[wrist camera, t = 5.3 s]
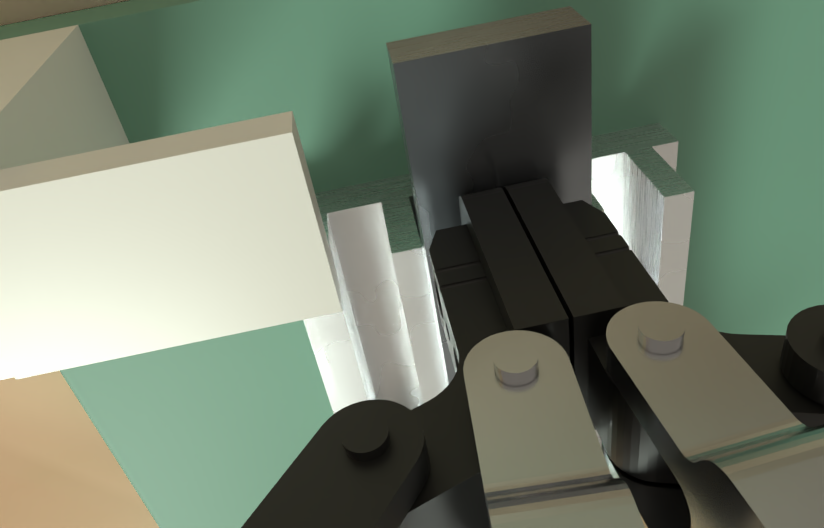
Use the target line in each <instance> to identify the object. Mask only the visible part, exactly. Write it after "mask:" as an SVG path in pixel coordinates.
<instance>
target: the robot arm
mask: <svg viewBox="0 0 824 528" xmlns="http://www.w3.org/2000/svg"><path fill="white" fill-rule="evenodd" d="M459 208H460V216H461V224H462V225H459V226H455V227H450V228H445V229H440V230H436V232H435V235H434V237H433V240H432V243H431V246H430V248H429V254H430V259H431V265H432V271H433V277H434V283H435V289H436V295H437V301H438V306H439V312H440V318H441V322H442V325H443V329H444V333H445V336H446V339H447V344H448V347H449V351H450V355H451V358H452V362H453V366H454V369H455V376H454V378H453V379H452V381H451V382H450V383H449V385H448V386H447V387H446V388H445V389H444V390H443V391H442V392H441V393H439V394H438V395H437V396H436V397H434V398H432V399H431V400H429V401H427V402H425V403H423V404H421V405H420V406H418V407H416V408H414V409H412V410H410V409H408V408H407V407H405V406H404V405H402V404H399V403H397V402H393V401H389V400H381V399H375V400H366V401H360V402H357V403H354V404H351V405H349V406H347V407H344V408H343V409H341V410H339V411H338V412H336V413H335V414H333V415H332V416H331V417H330V418H329V419H328V420H327V421H326V422H325V423H324V424H323V425H322V426H321V427H320V429H319V430H318V431H317V432H316V434H315V435H314V436H313V437H312V439H311V440H310V441H309V443H308V444H307V445H306V446H305V448H304V449H303V450H302V451H301V453H300V454H299V455H298V456H297V458H296V459H295V460H294V461H293V463H292V464H291V465H290V466H289V468H288V469H287V470H286V472H285V473H284V474H283V475H282V477H281V478H280V479H279V480H278V482H277V483H276V484H275V485H274V487H273V488H272V489H271V490H270V492H269V493H268V494H267V495H266V497H265V498H264V499H263V501H262V502H261V503H260V504H259V506H258V507H257V508H256V509H255V511H254V512H253V513H252V514H251V516H250V517H249V518H248V519H247V521H246V522H245V523H244V524H243V526H242V527H241V528H824V305H817V306H813V307H809V308H807V309H804V310H802V311H800V312H799V313H797V314H796V315H795V316H794V317H793V318H792V319H791V320H790V322H789V324H788V326H787V330H786V335H753V334H731V333H724V332H718V331H717V330H716V328H715V327H714V326H713V325H712V324H711V323H710V322H709V321H708V320H707V319H706V318H705V317H704V316H702V315H701V314H699V313H698V312H696V311H694V310H692V309H690V308H688V307H685V306H682V305H679V304H675V303H670V302H668V300H667V299H666V297H665V296H664V295H663V293H662V292H661V290H660V289H659V288H658V286H657V285H656V283H655V282H654V281H653V279H652V278H651V276H650V275H649V274H648V272H647V271H646V269H645V268H644V267H643V265H642V264H641V262H640V261H639V260H638V258H637V257H636V255H635V254H634V253H633V251H632V250H629V246H628V244H627V243H626V241H625V240H624V239H623V237H622V236H621V235H619V234H618V230H617V229H616V227H615V226H614V225H613V223H612V222H611V220H610V219H609V218H608V216H607V215H606V213H604V212H602V211H601V210H599V209H597V208H595V207H594V206H592V205H590V204H588V203H587V202H585V201H583V200H579V201H574V202H569V203H564V204H563V203H562V201H561V200H560V198H559V196H558V195H557V193H556V192H555V190H554V188H553V187H552V185H551V184H550V182H549V181H548V179H546V178H543V179H538V180H533V181H528V182H524V183H519V184H514V185H509V186H504V187H503V189H502V188H501V187H500V188H495V189H491V190H486V191H481V192H476V193H471V194H466V195H462V196H459ZM595 430H597V432H598V434H599V437H600V439H601V441H602V443H603V445H604V454H603V451H602V449H601V446H600V443H599V440H598V437H597V435H596V432H595Z"/></svg>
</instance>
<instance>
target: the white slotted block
mask: <svg viewBox="0 0 824 528" xmlns="http://www.w3.org/2000/svg"><path fill="white" fill-rule="evenodd" d="M677 153H678V140H677V139H676V138H674V137H673V136H672V135H671V134H670V133H669V132H668V131H667V130H666V129H665V128H664V127H663V126H662V125H661V124H660V123H655V124H651V125H646V126H641V127H636V128H631V129H626V130H621V131H616V132H611V133H606V134H602V135H597V136H592V206H594V207H595V208H597V209H599V210H601V211H602V212H604V213H606V215H607V216H608V218H609V219H610V220H611V222H612V223H613V225H614V226H615V227H616V229H617V230H618V234H619V235H621V236H622V237H623V239H624V240H625V241H626V243H627V244H628V246H629V250H632V251H633V253H634V254H635V255H636V257H637V258H638V260H639V261H640V262H641V264H642V265H643V267H644V268H645V269H646V271H647V272H648V274H649V275H650V276H651V278H652V279H653V281H654V282H655V283H656V285H657V286H658V288H659V289H660V290H661V292H662V293H663V295H664V296H665V297H666V299H667V300H668V302H670V303H675V304H679V305H682V306H683V302H684V292H685V282H686V272H687V262H688V252H689V242H690V232H691V222H692V212H693V202H694V192H695V191H694V190H693V189H692V188H691V187H690V186H689V185H688V184H687V183H686V182H685V181H684V180H683V179H682V178H681V177H680V176H679V175H678V174H677V173H676V166H677ZM315 195H316V199H317V203H318V206H319V210H320V214H321V217H322V221H323V225H324V228H325V232H326V236H327V239H328V243H329V246H330V250H331V254H332V257H333V261H334V265H335V268H336V272H337V276H338V279H339V283H340V292H341V303H342V312H338V313H334V314H329V315H324V316H319V317H314V318H310V319H305V320H303V321H304V324H305V327H306V330H307V333H308V337H309V340H310V343H311V346H312V349H313V352H314V355H315V358H316V361H317V364H318V367H319V370H320V373H321V376H322V379H323V383H324V386H325V389H326V392H327V395H328V398H329V401H330V404H331V407H332V410H333V413H334V414H335V413H336V412H338V411H339V410H341V409H343V408H344V407H347V406H349V405H351V404H354V403H357V402H360V401H366V400H375V399H381V400H389V401H393V402H397V403H399V404H402V405H404V406H405V407H407V408H408V409H410V410H412V409H414V408H416V407H418V406H420V405H421V404H423V403H425V402H427V401H429V400H431V399H432V398H434V397H436V396H437V395H438V394H439V393H441V392H442V391H443V390H444V389H445V388H446V387H447V384H446V379H445V373H444V367H443V362H442V356H441V350H440V345H439V339H438V334H437V328H436V322H435V317H434V311H433V305H432V300H431V294H430V289H429V283H428V277H427V272H426V266H425V260H424V255H423V249H422V244H421V238H420V232H419V227H418V221H417V215H416V210H415V204H414V199H413V193H412V187H411V182H410V176H409V174H406V175H401V176H396V177H391V178H386V179H381V180H376V181H371V182H367V183H362V184H357V185H352V186H347V187H342V188H337V189H332V190H327V191H322V192H318V193H315ZM595 432H596V435H597V437H598V440H599V443H600V446H601V449H602V441H601V439H600V437H599V434H598V432H597V430H595Z"/></svg>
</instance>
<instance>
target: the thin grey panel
mask: <svg viewBox="0 0 824 528" xmlns="http://www.w3.org/2000/svg"><path fill="white" fill-rule="evenodd" d="M386 47H387V52H388V58H389V63H390V69H391V75H392V80H393V86H394V92H395V97H396V103H397V108H398V114H399V120H400V125H401V131H402V137H403V142H404V148H405V154H406V159H407V165H408V170H409V176H410V182H411V187H412V193H413V199H414V204H415V210H416V215H417V221H418V227H419V232H420V238H421V244H422V249H423V255H424V260H425V266H426V272H427V277H428V283H429V289H430V294H431V300H432V305H433V311H434V317H435V322H436V328H437V334H438V339H439V345H440V350H441V356H442V362H443V367H444V373H445V379H446V384H447V386H448V385H449V383H450V382H451V381H452V379H453V378H454V376H455V369H454V366H453V362H452V358H451V355H450V351H449V347H448V344H447V339H446V336H445V333H444V329H443V325H442V322H441V318H440V312H439V306H438V301H437V295H436V289H435V283H434V277H433V271H432V265H431V259H430V254H429V248H430V246H431V243H432V240H433V237H434V235H435V232H436V230H440V229H445V228H450V227H455V226H459V225H462V224H461V216H460V208H459V196H462V195H466V194H471V193H476V192H481V191H486V190H491V189H495V188H500V187H501V188H502V189H503V187H504V186H509V185H514V184H519V183H524V182H528V181H533V180H538V179H543V178H546V179H548V181H549V182H550V184H551V185H552V187H553V188H554V190H555V192H556V193H557V195H558V196H559V198H560V200H561V201H562V203H563V204H564V203H569V202H574V201H579V200H583V201H585V202H587V203H588V204H590V205H592V63H591V23H590V22H589V21H587V20H586V19H585V18H584V17H582V16H581V15H580V14H579V13H578V12H576V11H575V10H574V9H573V8H572V7H570V6H567V7H562V8H557V9H552V10H547V11H542V12H537V13H532V14H527V15H522V16H517V17H512V18H507V19H502V20H497V21H492V22H487V23H482V24H477V25H472V26H467V27H462V28H457V29H452V30H447V31H442V32H437V33H432V34H427V35H422V36H417V37H412V38H407V39H402V40H397V41H392V42H387V43H386Z"/></svg>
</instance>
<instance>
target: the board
mask: <svg viewBox="0 0 824 528" xmlns="http://www.w3.org/2000/svg"><path fill="white" fill-rule="evenodd" d="M567 6H570V7H572V8H573V9H574V10H575V11H576V12H578V13H579V14H580V15H581V16H582V17H584V18H585V19H586V20H587V21H589V22H590V23H591V63H592V136H597V135H602V134H606V133H611V132H616V131H621V130H626V129H631V128H636V127H641V126H646V125H651V124H655V123H660V124H661V125H662V126H663V127H664V128H665V129H666V130H667V131H668V132H669V133H670V134H671V135H672V136H673V137H674V138H676V139H677V140H678V153H677V166H676V173H677V174H678V175H679V176H680V177H681V178H682V179H683V180H684V181H685V182H686V183H687V184H688V185H689V186H690V187H691V188H692V189H693V190H694V191H695V192H694V202H693V212H692V222H691V232H690V242H689V252H688V262H687V272H686V282H685V292H684V302H683V306H685V307H688V308H690V309H692V310H694V311H696V312H698V313H699V314H701V315H702V316H704V317H705V318H706V319H707V320H708V321H709V322H710V323H711V324H712V325H713V326H714V327H715V328H716V330H717V331H718V332H724V333H731V334H753V335H786V330H787V326H788V324H789V322H790V320H791V319H792V318H793V317H794V316H795V315H796V314H797V313H799V312H800V311H802V310H804V309H807V308H809V307H813V306H817V305H824V0H130V1H125V2H119V3H114V4H109V5H104V6H99V7H94V8H89V9H84V10H79V11H74V12H69V13H64V14H59V15H54V16H48V17H43V18H38V19H33V20H28V21H23V22H18V23H13V24H8V25H3V26H0V40H4V39H9V38H14V37H19V36H24V35H29V34H34V33H39V32H44V31H49V30H54V29H59V28H64V27H69V26H74V25H78V26H79V28H80V31H81V33H82V35H83V37H84V40H85V42H86V44H87V47H88V49H89V51H90V54H91V56H92V58H93V60H94V63H95V65H96V67H97V70H98V72H99V74H100V77H101V79H102V81H103V83H104V86H105V88H106V90H107V93H108V95H109V97H110V100H111V102H112V104H113V106H114V109H115V111H116V113H117V116H118V118H119V120H120V123H121V125H122V127H123V129H124V132H125V134H126V136H127V139H128V141H129V143H135V142H140V141H145V140H150V139H155V138H160V137H165V136H170V135H175V134H180V133H185V132H190V131H195V130H200V129H205V128H210V127H215V126H219V125H224V124H229V123H234V122H239V121H244V120H249V119H254V118H259V117H264V116H269V115H274V114H279V113H284V112H289V111H293V115H294V119H295V122H296V126H297V130H298V133H299V137H300V141H301V144H302V148H303V151H304V155H305V159H306V162H307V166H308V170H309V173H310V177H311V181H312V184H313V188H314V192H315V193H318V192H322V191H327V190H332V189H337V188H342V187H347V186H352V185H357V184H362V183H367V182H371V181H376V180H381V179H386V178H391V177H396V176H401V175H406V174H409V170H408V165H407V159H406V154H405V148H404V142H403V137H402V131H401V125H400V120H399V114H398V108H397V103H396V97H395V92H394V86H393V80H392V75H391V69H390V63H389V58H388V52H387V47H386V43H387V42H392V41H397V40H402V39H407V38H412V37H417V36H422V35H427V34H432V33H437V32H442V31H447V30H452V29H457V28H462V27H467V26H472V25H477V24H482V23H487V22H492V21H497V20H502V19H507V18H512V17H517V16H522V15H527V14H532V13H537V12H542V11H547V10H552V9H557V8H562V7H567ZM60 372H61V374H62V375H63V377H64V378H65V380H66V381H67V383H68V385H69V386H70V388H71V389H72V391H73V392H74V394H75V396H76V397H77V399H78V400H79V402H80V403H81V405H82V407H83V408H84V410H85V411H86V413H87V414H88V416H89V418H90V419H91V421H92V422H93V424H94V425H95V427H96V429H97V430H98V432H99V433H100V435H101V436H102V438H103V440H104V441H105V443H106V444H107V446H108V447H109V449H110V451H111V452H112V454H113V455H114V457H115V458H116V460H117V462H118V463H119V465H120V466H121V468H122V469H123V471H124V473H125V474H126V476H127V477H128V479H129V480H130V482H131V484H132V485H133V487H134V488H135V490H136V491H137V493H138V495H139V496H140V498H141V499H142V501H143V502H144V504H145V506H146V507H147V509H148V510H149V512H150V513H151V515H152V517H153V518H154V520H155V521H156V523H157V524H158V526H159V528H241V527H242V526H243V524H244V523H245V522H246V521H247V519H248V518H249V517H250V516H251V514H252V513H253V512H254V511H255V509H256V508H257V507H258V506H259V504H260V503H261V502H262V501H263V499H264V498H265V497H266V495H267V494H268V493H269V492H270V490H271V489H272V488H273V487H274V485H275V484H276V483H277V482H278V480H279V479H280V478H281V477H282V475H283V474H284V473H285V472H286V470H287V469H288V468H289V466H290V465H291V464H292V463H293V461H294V460H295V459H296V458H297V456H298V455H299V454H300V453H301V451H302V450H303V449H304V448H305V446H306V445H307V444H308V443H309V441H310V440H311V439H312V437H313V436H314V435H315V434H316V432H317V431H318V430H319V429H320V427H321V426H322V425H323V424H324V423H325V422H326V421H327V420H328V419H329V418H330V417H331V416H332V415H333V414H334V413H333V410H332V407H331V404H330V401H329V398H328V395H327V392H326V389H325V386H324V383H323V379H322V376H321V373H320V370H319V367H318V364H317V361H316V358H315V355H314V352H313V349H312V346H311V343H310V340H309V337H308V333H307V330H306V327H305V324H304V321H303V320H300V321H295V322H290V323H285V324H281V325H276V326H271V327H266V328H261V329H257V330H252V331H247V332H242V333H237V334H233V335H228V336H223V337H218V338H213V339H209V340H204V341H199V342H194V343H189V344H184V345H180V346H175V347H170V348H165V349H160V350H156V351H151V352H146V353H141V354H136V355H132V356H127V357H122V358H117V359H112V360H108V361H103V362H98V363H93V364H88V365H84V366H79V367H74V368H69V369H64V370H60ZM602 451H603V454H604V445H603V443H602Z"/></svg>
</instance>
